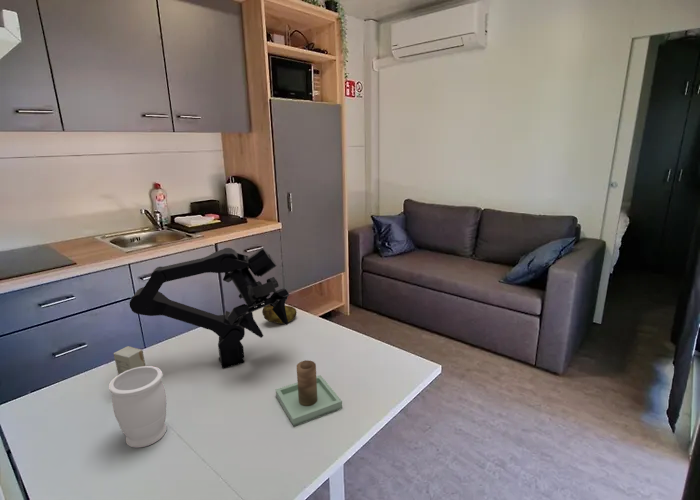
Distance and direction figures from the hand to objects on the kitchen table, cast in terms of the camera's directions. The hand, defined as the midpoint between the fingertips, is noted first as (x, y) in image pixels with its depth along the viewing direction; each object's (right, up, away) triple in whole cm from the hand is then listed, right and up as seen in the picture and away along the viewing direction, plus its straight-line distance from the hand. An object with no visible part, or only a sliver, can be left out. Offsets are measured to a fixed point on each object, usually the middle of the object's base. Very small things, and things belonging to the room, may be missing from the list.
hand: (275, 330), depth 108 cm
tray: (+10, -17, -9) cm, 22 cm away
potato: (-5, -5, +36) cm, 36 cm away
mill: (+10, -16, -10) cm, 21 cm away
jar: (-26, -20, -20) cm, 38 cm away
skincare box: (-37, -16, -4) cm, 41 cm away
